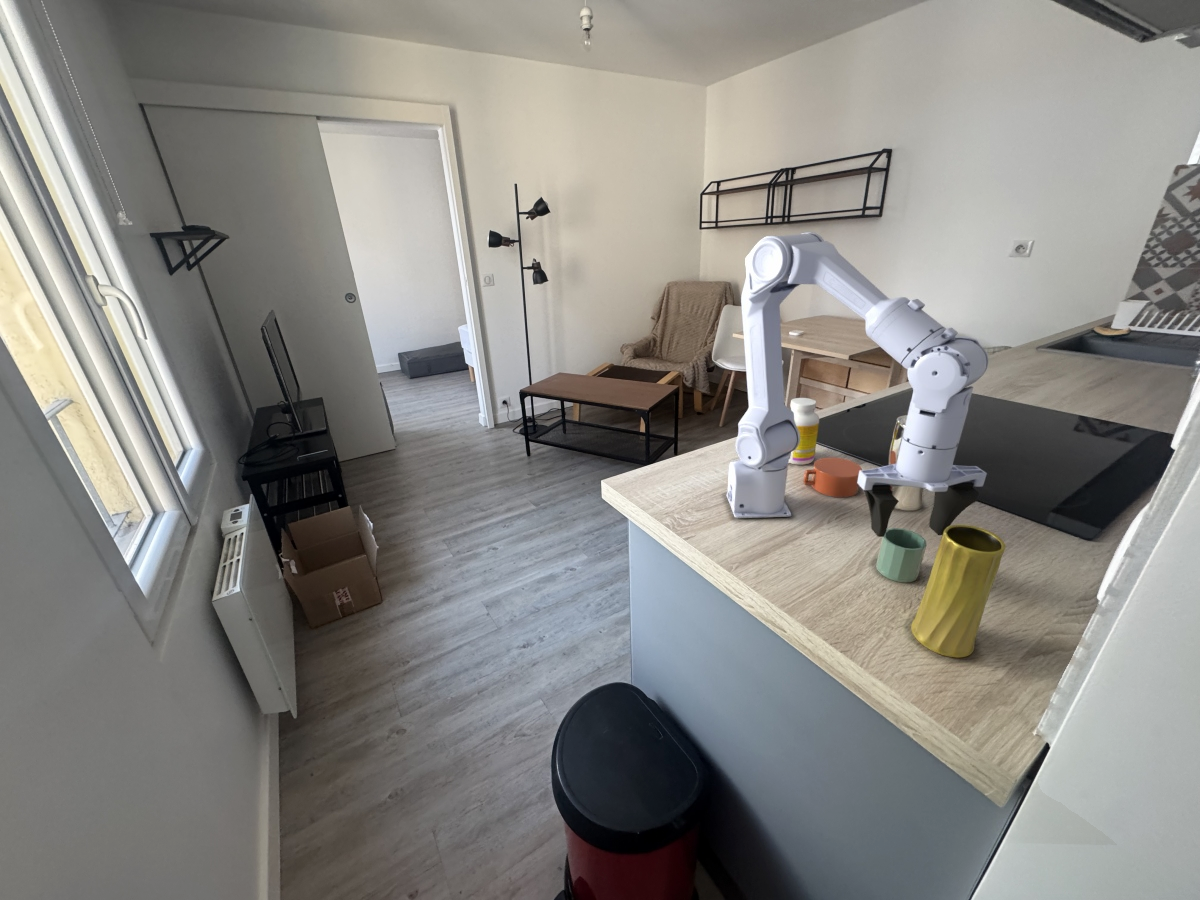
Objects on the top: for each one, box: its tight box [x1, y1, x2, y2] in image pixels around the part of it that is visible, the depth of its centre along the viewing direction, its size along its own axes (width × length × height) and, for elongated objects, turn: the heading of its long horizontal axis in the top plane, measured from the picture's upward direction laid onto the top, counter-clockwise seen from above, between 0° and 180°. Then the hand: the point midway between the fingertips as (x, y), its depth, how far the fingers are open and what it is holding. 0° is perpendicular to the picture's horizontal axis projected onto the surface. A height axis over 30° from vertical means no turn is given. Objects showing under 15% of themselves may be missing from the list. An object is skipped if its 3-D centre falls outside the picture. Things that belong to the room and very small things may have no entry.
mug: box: [802, 456, 863, 498], centre depth 87 cm, size 10×8×4 cm
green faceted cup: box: [875, 527, 928, 583], centre depth 65 cm, size 5×5×6 cm
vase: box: [910, 524, 1006, 659], centre depth 52 cm, size 6×6×14 cm
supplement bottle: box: [788, 397, 820, 466], centre depth 96 cm, size 7×7×13 cm
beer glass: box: [887, 414, 924, 512], centre depth 78 cm, size 7×7×15 cm
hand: (906, 531), depth 63 cm, fingers open, 7 cm apart
